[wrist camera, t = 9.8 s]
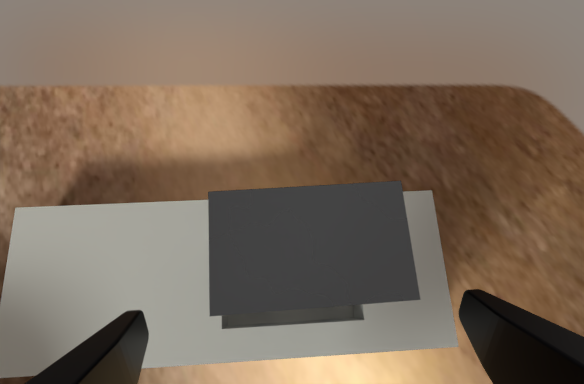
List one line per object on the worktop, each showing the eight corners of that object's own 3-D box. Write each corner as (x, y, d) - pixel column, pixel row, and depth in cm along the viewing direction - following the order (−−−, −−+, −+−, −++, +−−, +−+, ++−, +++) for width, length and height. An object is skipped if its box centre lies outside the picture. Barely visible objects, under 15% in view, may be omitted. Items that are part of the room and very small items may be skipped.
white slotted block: (433, 339, 21) (458, 346, 18) (30, 366, 19) (-12, 378, 16) (412, 203, 23) (431, 190, 20) (49, 219, 22) (15, 207, 19)
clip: (336, 298, 21) (420, 300, 9) (247, 305, 20) (209, 316, 8) (330, 245, 21) (401, 180, 10) (245, 251, 21) (208, 192, 9)
